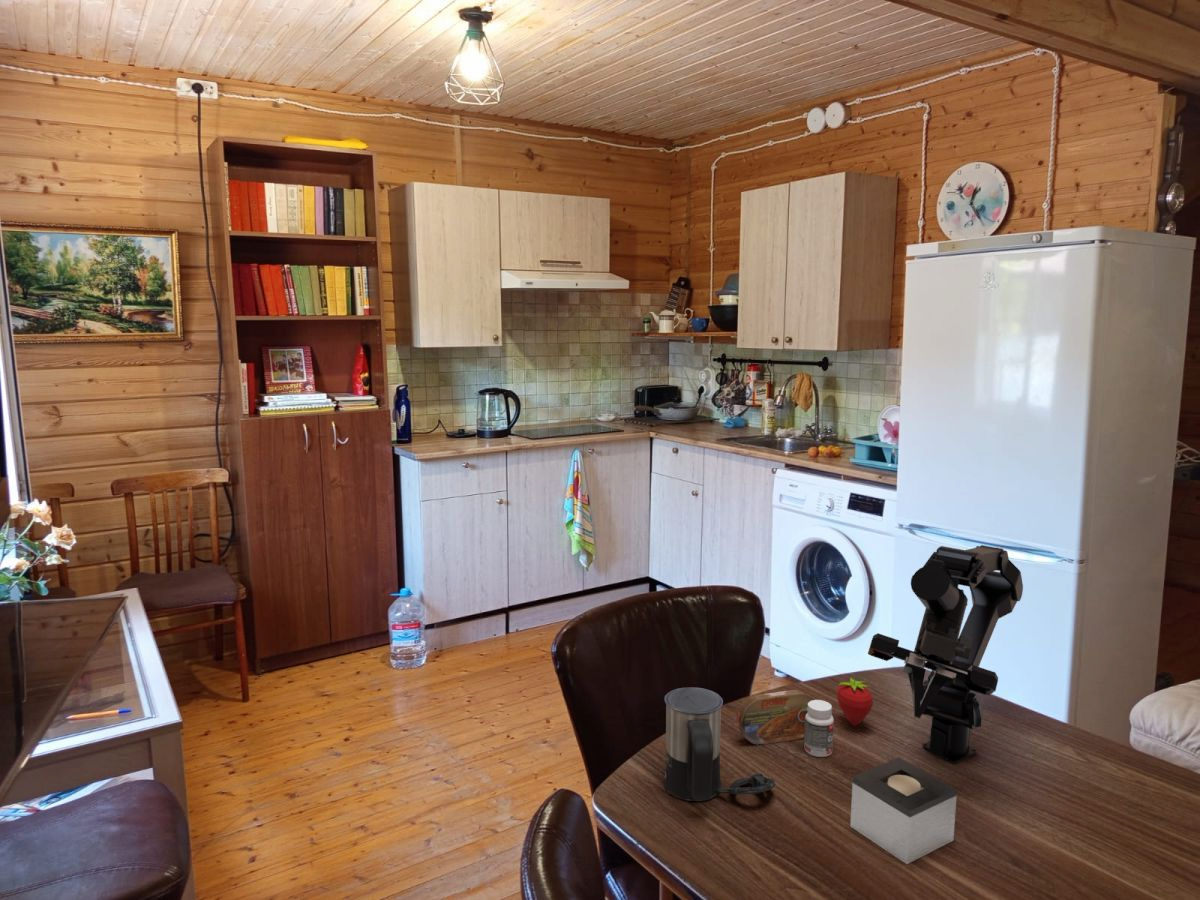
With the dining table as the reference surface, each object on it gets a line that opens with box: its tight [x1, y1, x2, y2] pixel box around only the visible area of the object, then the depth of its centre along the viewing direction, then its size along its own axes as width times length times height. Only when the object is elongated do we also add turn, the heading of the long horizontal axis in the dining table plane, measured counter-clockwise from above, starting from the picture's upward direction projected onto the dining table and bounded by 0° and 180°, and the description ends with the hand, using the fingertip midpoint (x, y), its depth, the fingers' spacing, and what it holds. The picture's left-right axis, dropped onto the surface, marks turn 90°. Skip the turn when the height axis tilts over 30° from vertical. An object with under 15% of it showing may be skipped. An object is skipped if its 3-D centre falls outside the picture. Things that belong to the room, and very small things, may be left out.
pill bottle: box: [804, 699, 835, 758], centre depth 143 cm, size 5×5×8 cm
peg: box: [888, 775, 921, 796], centre depth 120 cm, size 4×4×8 cm
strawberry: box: [836, 673, 874, 727], centre depth 152 cm, size 6×8×10 cm
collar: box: [850, 757, 958, 865], centre depth 120 cm, size 10×10×8 cm
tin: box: [736, 689, 815, 745], centre depth 147 cm, size 15×3×8 cm, turn 104°
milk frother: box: [663, 686, 776, 802], centre depth 131 cm, size 14×16×15 cm
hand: (916, 717), depth 128 cm, fingers closed
